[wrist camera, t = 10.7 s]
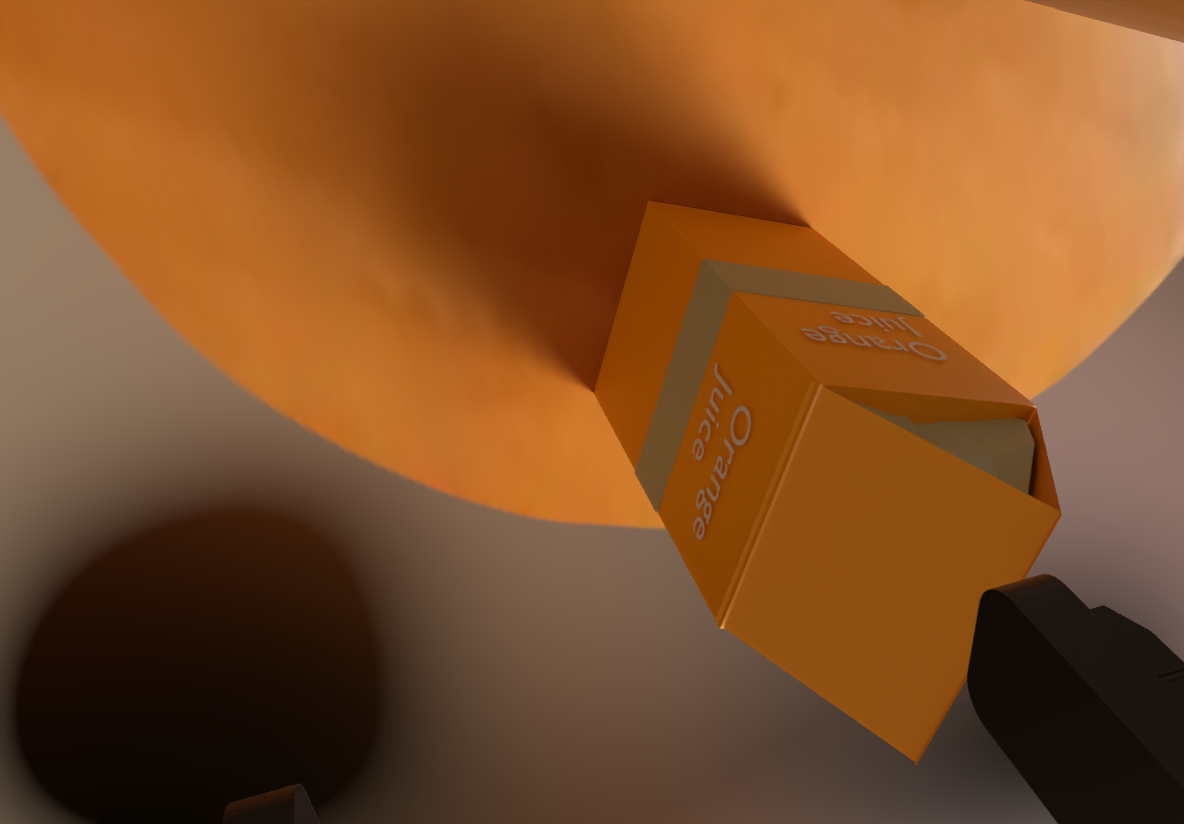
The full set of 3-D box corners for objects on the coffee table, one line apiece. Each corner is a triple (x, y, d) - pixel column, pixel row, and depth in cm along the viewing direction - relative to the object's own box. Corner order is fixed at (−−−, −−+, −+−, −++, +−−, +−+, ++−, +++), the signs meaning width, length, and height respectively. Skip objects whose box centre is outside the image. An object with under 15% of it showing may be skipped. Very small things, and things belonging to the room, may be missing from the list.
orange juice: (589, 393, 41) (793, 777, 25) (645, 197, 37) (930, 502, 21) (749, 408, 44) (1025, 761, 28) (817, 226, 40) (1186, 516, 24)
